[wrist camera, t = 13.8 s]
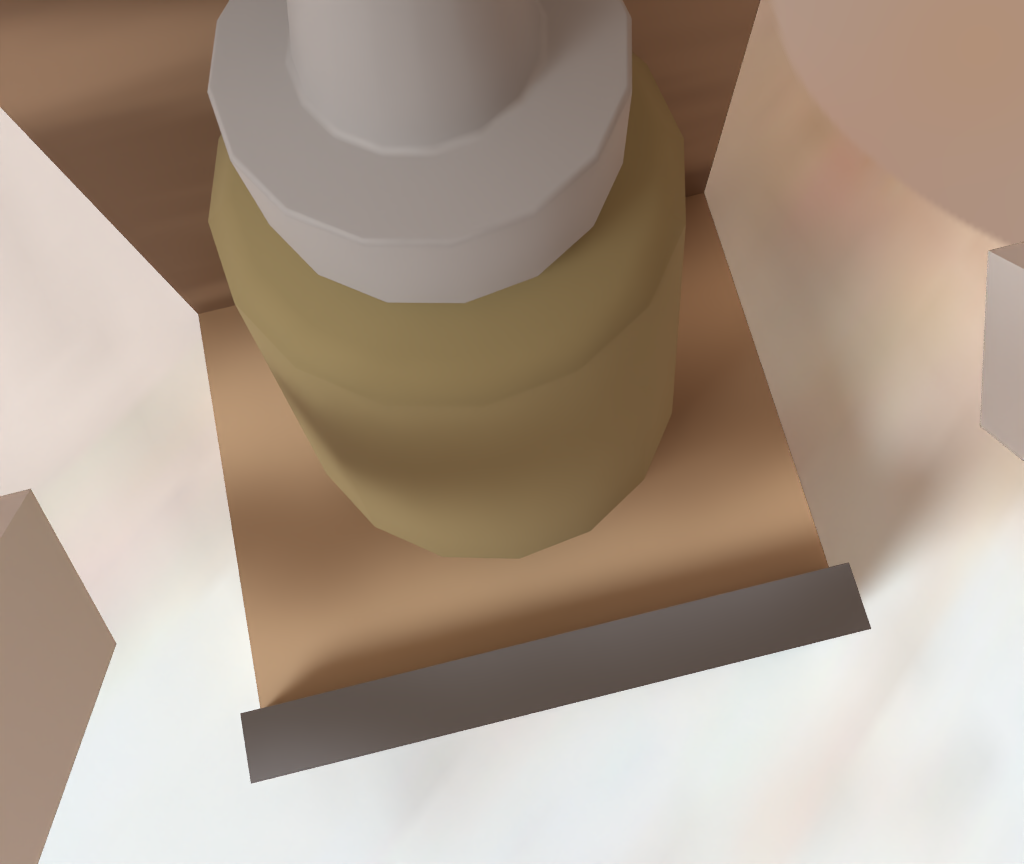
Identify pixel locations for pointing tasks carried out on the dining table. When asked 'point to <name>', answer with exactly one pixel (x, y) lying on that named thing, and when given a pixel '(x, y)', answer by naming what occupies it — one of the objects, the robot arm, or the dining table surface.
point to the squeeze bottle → (455, 253)
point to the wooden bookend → (387, 558)
